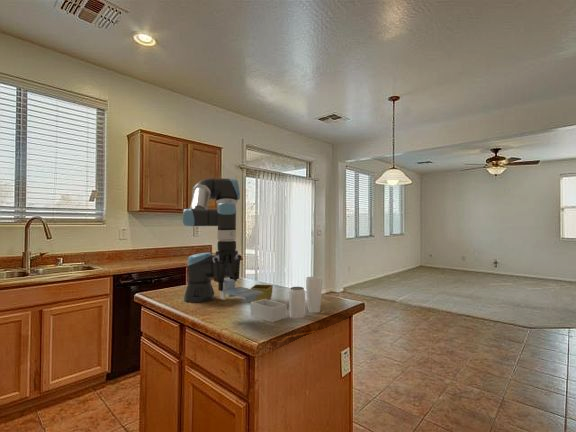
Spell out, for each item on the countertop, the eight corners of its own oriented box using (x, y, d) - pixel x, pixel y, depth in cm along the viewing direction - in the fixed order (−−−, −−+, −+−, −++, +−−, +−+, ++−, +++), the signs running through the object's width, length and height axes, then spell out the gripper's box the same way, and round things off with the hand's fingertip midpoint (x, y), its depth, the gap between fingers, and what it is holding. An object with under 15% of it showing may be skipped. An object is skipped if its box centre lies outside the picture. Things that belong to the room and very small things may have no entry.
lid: (214, 295, 126) (214, 280, 126) (232, 291, 133) (232, 277, 133) (244, 303, 113) (244, 286, 113) (263, 298, 120) (263, 283, 120)
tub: (250, 316, 130) (250, 302, 130) (264, 312, 136) (264, 298, 136) (272, 323, 121) (272, 308, 121) (286, 319, 127) (286, 304, 127)
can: (288, 314, 133) (288, 286, 133) (303, 314, 133) (303, 286, 134) (290, 319, 126) (290, 289, 127) (306, 319, 127) (306, 289, 127)
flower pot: (268, 308, 142) (268, 288, 143) (249, 307, 144) (249, 288, 144) (273, 303, 151) (272, 285, 151) (255, 302, 153) (255, 284, 153)
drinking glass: (317, 315, 132) (317, 279, 132) (303, 313, 135) (303, 278, 136) (324, 311, 138) (324, 277, 138) (310, 309, 141) (310, 275, 141)
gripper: (215, 241, 120) (214, 303, 119) (248, 240, 132) (248, 295, 131) (204, 241, 125) (204, 300, 124) (237, 239, 137) (237, 293, 137)
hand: (226, 297), depth 128 cm, fingers closed on lid, 3 cm apart
